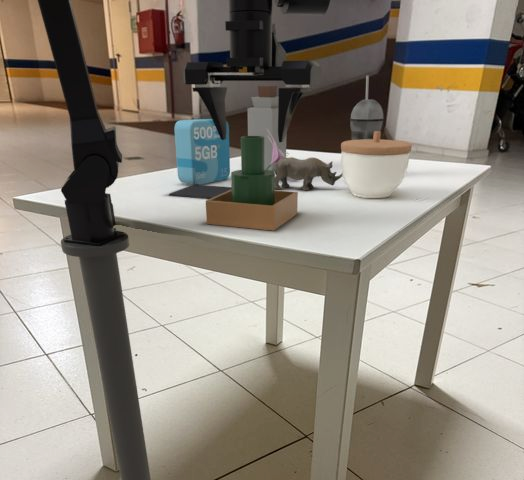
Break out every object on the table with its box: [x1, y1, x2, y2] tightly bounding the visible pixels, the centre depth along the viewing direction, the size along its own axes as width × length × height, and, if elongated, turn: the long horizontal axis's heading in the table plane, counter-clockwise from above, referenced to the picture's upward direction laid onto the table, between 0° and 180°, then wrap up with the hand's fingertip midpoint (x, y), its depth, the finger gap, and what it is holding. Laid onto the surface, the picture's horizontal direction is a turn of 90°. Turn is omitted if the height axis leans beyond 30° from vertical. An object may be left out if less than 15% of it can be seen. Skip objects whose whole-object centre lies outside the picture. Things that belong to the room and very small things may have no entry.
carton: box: [205, 189, 299, 232], centre depth 78 cm, size 11×11×4 cm
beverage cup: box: [349, 75, 384, 140], centre depth 109 cm, size 7×7×20 cm
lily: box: [266, 128, 289, 170], centre depth 108 cm, size 12×12×10 cm
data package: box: [174, 118, 231, 185], centre depth 104 cm, size 12×4×12 cm, turn 144°
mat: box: [168, 184, 232, 200], centre depth 97 cm, size 10×10×1 cm
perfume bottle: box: [247, 85, 288, 172], centre depth 118 cm, size 7×7×18 cm
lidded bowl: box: [340, 130, 413, 199], centre depth 92 cm, size 13×13×11 cm
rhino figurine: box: [274, 156, 343, 191], centre depth 98 cm, size 4×14×6 cm, turn 81°
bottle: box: [230, 135, 276, 206], centre depth 76 cm, size 7×7×12 cm
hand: (252, 140), depth 73 cm, fingers open, 9 cm apart
